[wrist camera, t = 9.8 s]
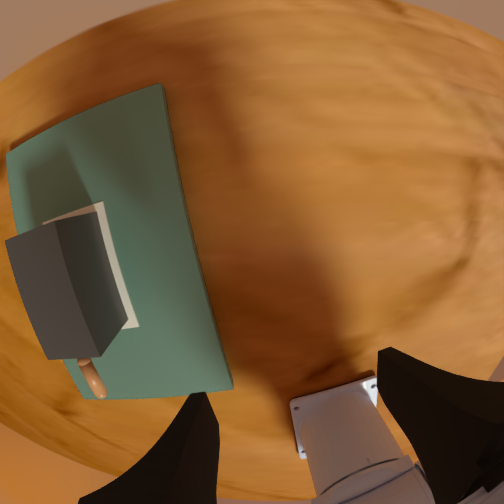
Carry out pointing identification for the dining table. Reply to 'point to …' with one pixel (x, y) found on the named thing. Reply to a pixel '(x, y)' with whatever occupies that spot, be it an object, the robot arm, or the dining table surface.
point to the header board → (129, 241)
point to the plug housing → (69, 291)
